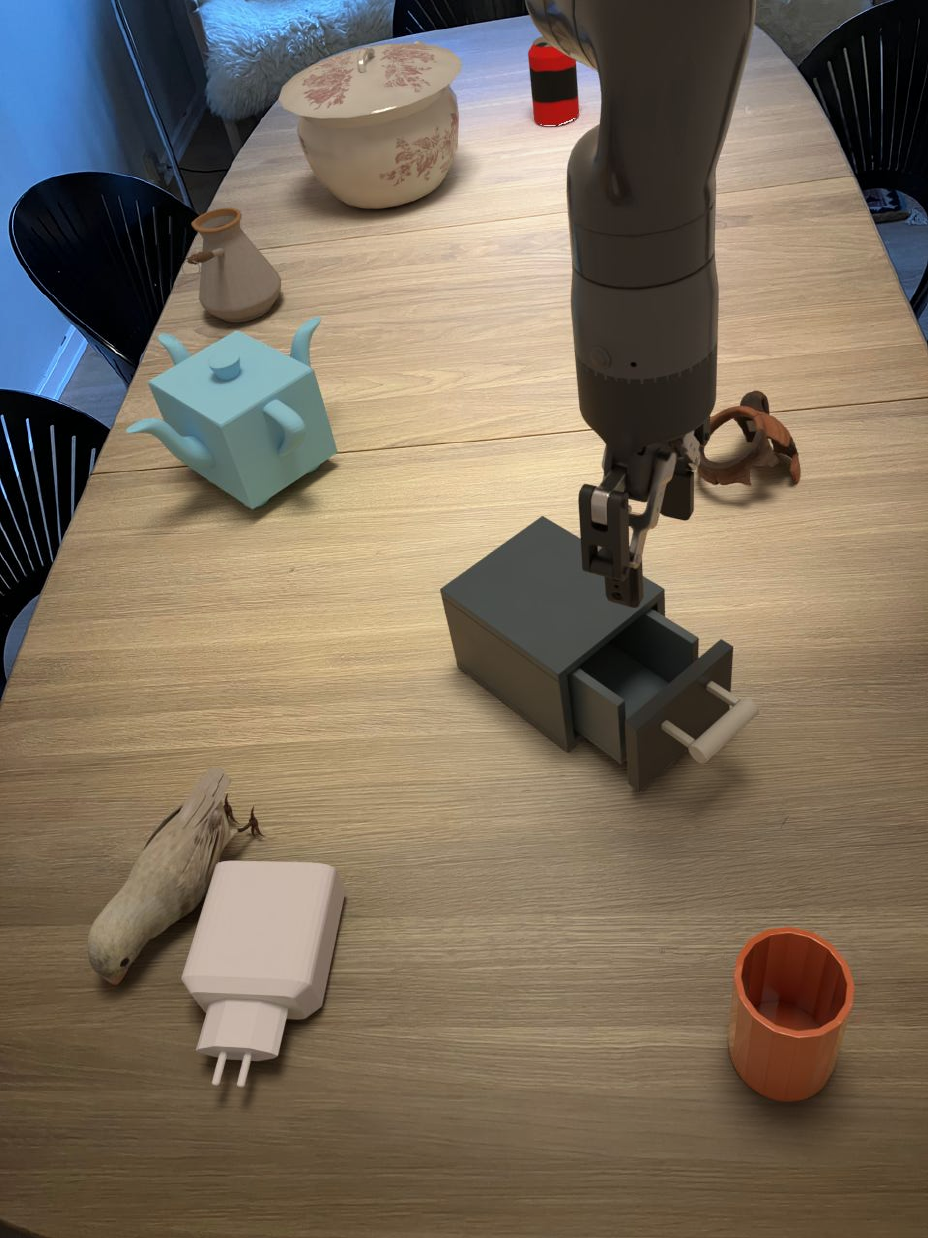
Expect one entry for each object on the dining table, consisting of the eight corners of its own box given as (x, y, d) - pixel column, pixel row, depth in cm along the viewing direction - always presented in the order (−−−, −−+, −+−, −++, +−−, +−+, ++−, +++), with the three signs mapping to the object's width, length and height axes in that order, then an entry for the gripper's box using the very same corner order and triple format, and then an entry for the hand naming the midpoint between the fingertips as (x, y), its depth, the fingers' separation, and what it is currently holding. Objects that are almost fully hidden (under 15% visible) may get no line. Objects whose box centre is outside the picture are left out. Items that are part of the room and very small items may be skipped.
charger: (173, 1095, 69) (232, 891, 79) (306, 1104, 67) (348, 894, 77) (147, 1069, 65) (212, 859, 76) (286, 1077, 64) (333, 862, 74)
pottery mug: (808, 506, 100) (773, 459, 94) (718, 528, 105) (680, 486, 100) (808, 408, 105) (775, 359, 100) (722, 435, 111) (686, 389, 105)
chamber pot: (339, 249, 151) (303, 102, 136) (285, 186, 170) (248, 51, 155) (510, 190, 156) (493, 42, 142) (440, 135, 175) (418, 0, 160)
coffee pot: (214, 292, 148) (178, 189, 137) (292, 281, 146) (261, 177, 136) (183, 375, 133) (140, 267, 122) (269, 365, 132) (234, 255, 121)
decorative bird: (86, 972, 76) (42, 924, 71) (226, 806, 85) (196, 751, 79) (137, 1006, 74) (95, 959, 68) (276, 831, 82) (248, 777, 77)
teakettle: (334, 514, 109) (299, 397, 98) (164, 532, 111) (111, 419, 100) (349, 410, 122) (319, 297, 111) (196, 428, 124) (153, 319, 113)
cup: (816, 994, 67) (833, 921, 60) (847, 1096, 63) (870, 1030, 56) (718, 1005, 68) (723, 934, 60) (741, 1107, 63) (750, 1043, 56)
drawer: (774, 741, 80) (781, 675, 74) (683, 827, 76) (684, 764, 70) (613, 635, 90) (609, 570, 84) (526, 706, 86) (515, 642, 80)
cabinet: (665, 670, 88) (665, 588, 81) (567, 753, 83) (558, 674, 76) (552, 595, 96) (542, 515, 89) (457, 667, 91) (439, 588, 84)
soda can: (524, 122, 174) (517, 45, 165) (556, 105, 177) (550, 29, 168) (557, 130, 169) (551, 51, 161) (588, 113, 172) (584, 35, 164)
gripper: (661, 424, 49) (665, 650, 60) (758, 274, 57) (745, 500, 68) (520, 397, 52) (550, 617, 64) (631, 259, 60) (639, 477, 72)
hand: (651, 556), depth 66 cm, fingers open, 8 cm apart
